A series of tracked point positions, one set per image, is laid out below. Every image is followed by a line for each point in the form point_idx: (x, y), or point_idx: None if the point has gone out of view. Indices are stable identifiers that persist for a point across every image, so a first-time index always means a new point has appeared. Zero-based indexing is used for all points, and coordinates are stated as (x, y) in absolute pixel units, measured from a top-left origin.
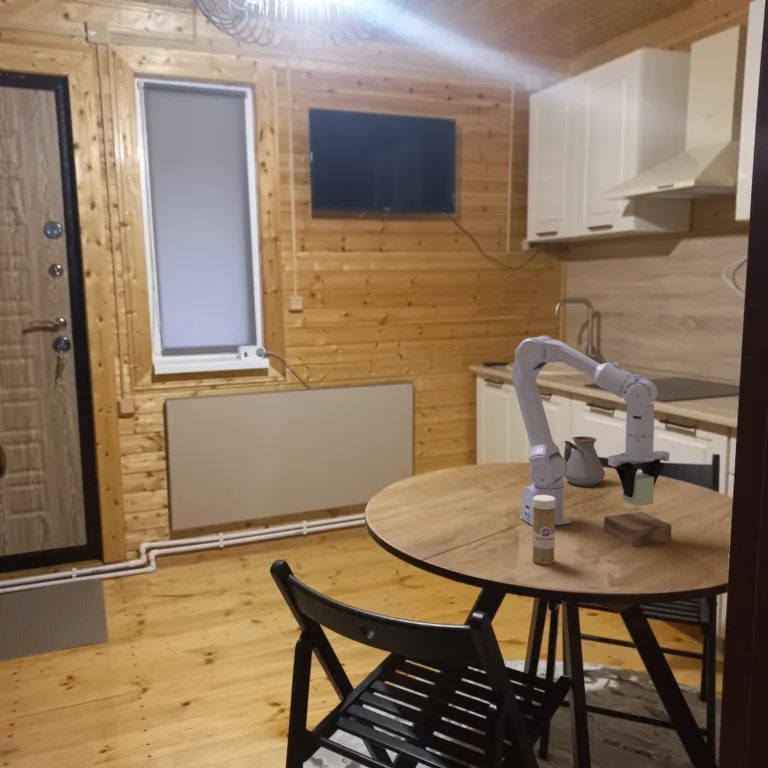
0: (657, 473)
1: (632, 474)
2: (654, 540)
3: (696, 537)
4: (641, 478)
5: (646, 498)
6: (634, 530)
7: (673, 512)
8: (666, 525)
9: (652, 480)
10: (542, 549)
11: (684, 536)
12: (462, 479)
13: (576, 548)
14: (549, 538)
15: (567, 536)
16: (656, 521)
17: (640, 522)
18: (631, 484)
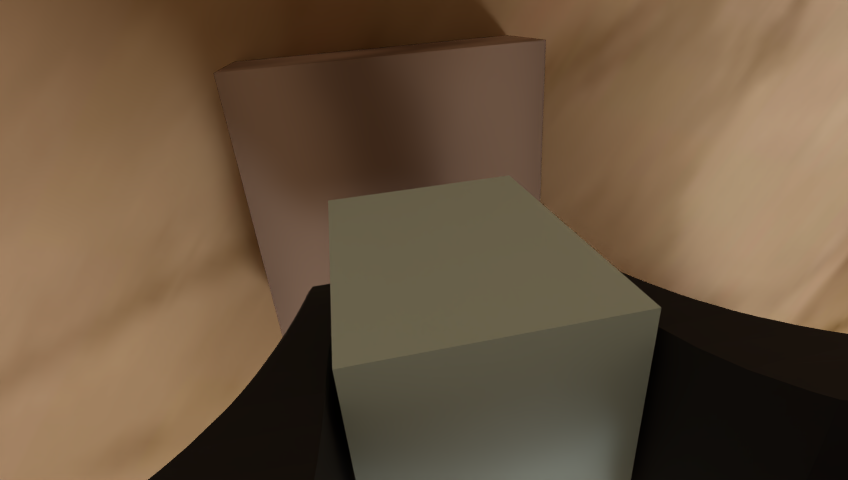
0: (238, 446)
1: (798, 350)
2: (357, 50)
3: (26, 71)
4: (568, 332)
5: (411, 212)
6: (529, 41)
7: (10, 458)
8: (258, 70)
9: (358, 331)
10: None
11: (107, 108)
12: None
13: (760, 84)
14: None
15: (686, 236)
16: (286, 170)
17: (403, 173)
18: (646, 293)
